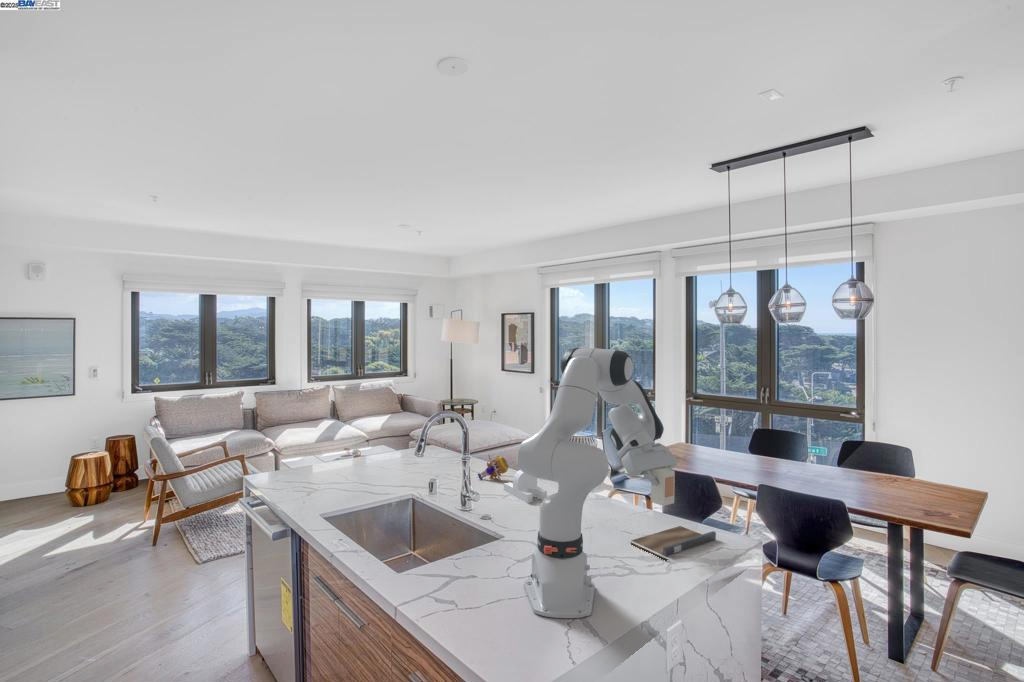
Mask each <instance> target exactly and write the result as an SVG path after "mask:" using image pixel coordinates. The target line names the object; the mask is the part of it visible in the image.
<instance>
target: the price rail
mask: <svg viewBox="0 0 1024 682" xmlns="http://www.w3.org/2000/svg"><path fill="white" fill-rule="evenodd" d="M701 534H702V535H699V536H696V537H693V538H690V539H687V540H684V541H680V542H677V543H674V544H671V545H668V546H665V547H663V555H664V557H668V556H672V555H676V554H678V553H681V552H683V551H686V550H690V549H693V548H696V547H699V546H701V545H705V544H708V543H711V542H714V541H716V540H717V539H716V538H717V532H716V531H714V530H712V531H710V532H709V531H708V532H705V533H701ZM663 555H662V556H663Z"/></svg>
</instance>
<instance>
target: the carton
mask: <svg viewBox="0 0 1024 682" xmlns="http://www.w3.org/2000/svg"><path fill="white" fill-rule="evenodd" d="M651 475H652V476H654V477H655V478H657V479H658V481H659V484H658V485H656V486H653V485H652V483H651V482H650V502H651V503H654V504H657V505H660V506H662V507H663V506H664V507H665V506H668V505H672V504H673V505H674V504H675V483H676V481H675V478H676V476H675V475H676V472H675V470H672V469H670V470H669V469H665V468H657V469H652V470H651Z"/></svg>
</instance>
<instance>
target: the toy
mask: <svg viewBox="0 0 1024 682" xmlns="http://www.w3.org/2000/svg"><path fill="white" fill-rule="evenodd" d="M487 459H488V460H489V461H490V462H488V461H487V462H486V466H487V467H486V468H485V469H484V470H483V471H481V472H479V473H477V476H478V478H479V480H483V478H486V477H487V476H489V479H493V478H494V479H496V478H497V479H498V480H499V481H500V482H502V479H501V477H502V475H504V474H505V473H507V472H508V470H509V464H508V460H507V459H506V458H505V457H503V456H500V455H497V456H496V457H495V458H494V459H493V460H492V457H491V455H490V454H488V455H487Z"/></svg>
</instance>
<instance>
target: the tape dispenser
mask: <svg viewBox="0 0 1024 682" xmlns="http://www.w3.org/2000/svg"><path fill="white" fill-rule="evenodd" d="M504 491H506V492H508V493H509V494H508V493H507V494H508V495H510V494H511V495H510V496H512V495H513V496H512V497H514V496H515V497H514V498H516V497H517V498H516V499H518V498H519V499H518V500H520V499H521V500H520V501H522V500H523V501H522V502H524V501H525V502H524V503H526V502H527V503H526V504H530V503H529V502H532V503H533V498H536V497H537V499H538V498H539V499H538V500H540V499H541V500H540V501H543V500H544V499H545V498H546V497H548V490H546V489H545V488H542V487H539V486H538V478H536V477H533V476H531V475H528V474H526V473H524V472H522V471H521V470H520V469H519V470H517V472H516V473H515V474H514V476H513V479H512V482H511V481H510V482H506V483H505V482H504V483H503V492H504ZM506 492H505V493H506Z"/></svg>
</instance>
